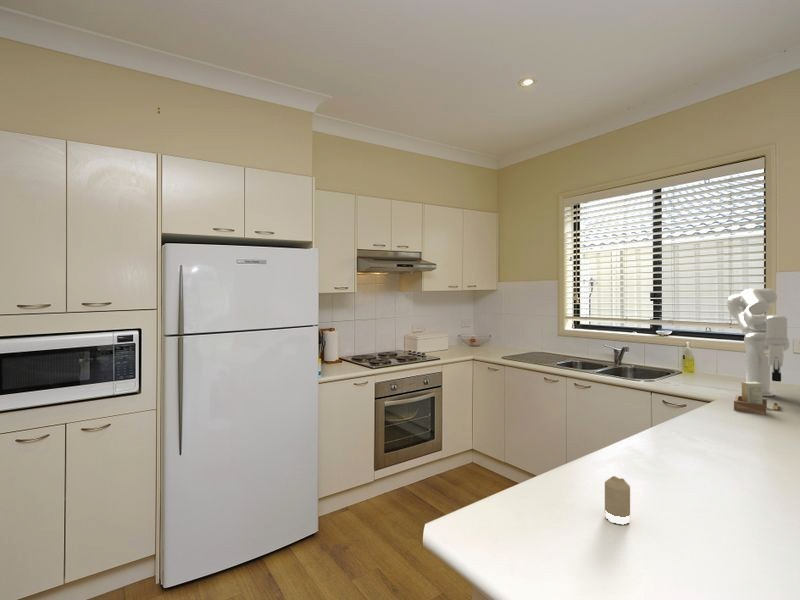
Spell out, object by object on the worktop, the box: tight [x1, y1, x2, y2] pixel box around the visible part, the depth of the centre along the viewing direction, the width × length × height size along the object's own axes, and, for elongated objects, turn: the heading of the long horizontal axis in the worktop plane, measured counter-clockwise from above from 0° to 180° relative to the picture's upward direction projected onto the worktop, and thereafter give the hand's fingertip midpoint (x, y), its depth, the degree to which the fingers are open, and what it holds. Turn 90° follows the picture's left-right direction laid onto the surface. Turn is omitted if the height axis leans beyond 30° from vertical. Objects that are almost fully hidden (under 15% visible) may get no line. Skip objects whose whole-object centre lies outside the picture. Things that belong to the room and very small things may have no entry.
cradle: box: [733, 395, 768, 415], centre depth 192 cm, size 13×11×4 cm
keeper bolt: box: [772, 401, 779, 410], centre depth 193 cm, size 9×2×3 cm, turn 138°
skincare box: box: [741, 381, 763, 404], centre depth 192 cm, size 6×4×12 cm
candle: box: [604, 475, 631, 517], centre depth 103 cm, size 6×6×10 cm
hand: (776, 380), depth 199 cm, fingers closed
